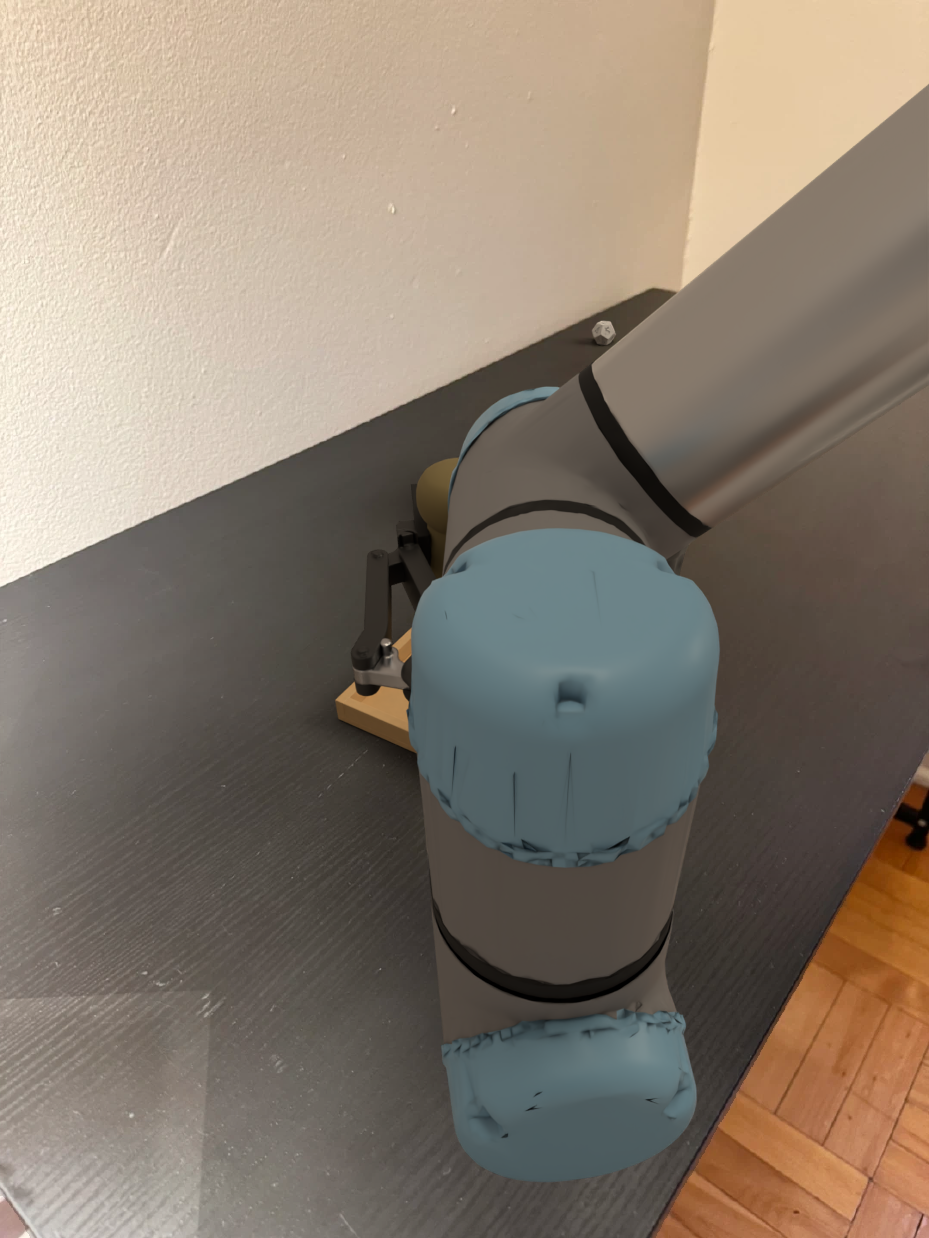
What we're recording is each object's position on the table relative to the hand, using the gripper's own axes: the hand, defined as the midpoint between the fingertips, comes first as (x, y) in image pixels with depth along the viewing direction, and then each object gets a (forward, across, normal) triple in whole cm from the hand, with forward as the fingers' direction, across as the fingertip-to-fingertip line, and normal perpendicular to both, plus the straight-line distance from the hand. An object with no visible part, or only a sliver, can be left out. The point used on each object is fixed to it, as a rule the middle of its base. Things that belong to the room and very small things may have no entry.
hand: (453, 499), depth 55 cm
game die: (+77, +30, -18) cm, 85 cm away
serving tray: (+1, 0, -18) cm, 18 cm away
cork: (-5, 0, -6) cm, 8 cm away
